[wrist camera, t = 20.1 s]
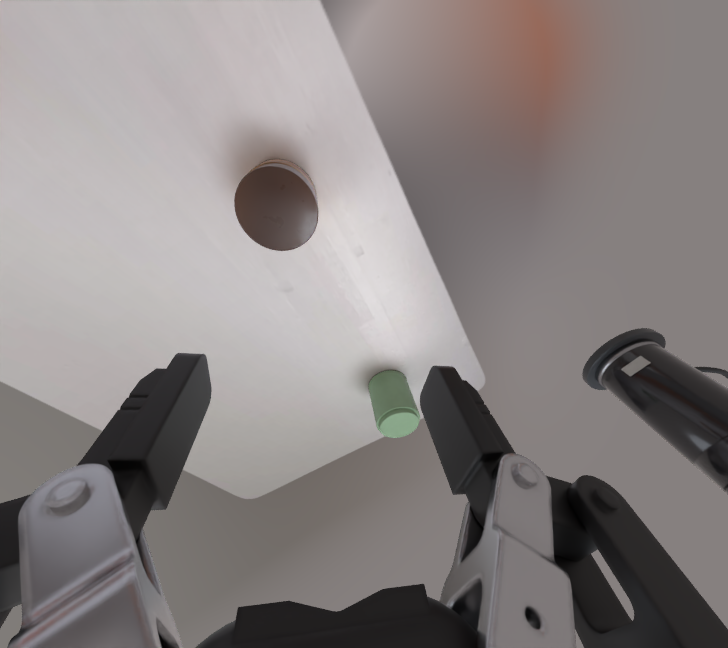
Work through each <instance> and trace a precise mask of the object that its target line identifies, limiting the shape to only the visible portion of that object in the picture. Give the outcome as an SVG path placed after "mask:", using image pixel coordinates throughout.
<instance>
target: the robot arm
mask: <svg viewBox="0 0 728 648" xmlns="http://www.w3.org/2000/svg"><path fill="white" fill-rule="evenodd" d="M703 372H712V373H719V374H722V375H723V376H725V377H726V378H728V372H727V371H725V370H722V369H717V368H711V367H693V366H691V365H690V364H688V363H686V362H685V361H683V360H682V359H680V358H679V357H677V356H675V355H674V354H672V353H670V352H669V351H667V350H666V349H664V348H663V347H662V346H661V345H659V344H657V343H656V342H654V341H652V340H648V339H643V340H637V341H634V342H631V343H628V344H626V345H624V346H622V347H620V348H619V349H617V350H616V351H614V352H613V353H611V354H610V355H609V356H608V357H607V358H606V359H605V360H604V361H603V362H602V363H601V364H600V366H599V367H598V369H597V371H596V380H597V382H598V383H600V384H601V385H602V386H603V387H604V388H606V389H607V390H609V391H610V392H611V393H612V394H613V395H614V396H615V397H617V398H618V399H619V400H620V401H621V402H622V403H623V404H625V405H626V406H627V407H628V408H629V409H630V410H631V411H633V412H634V413H635V414H636V415H637V416H638V417H639V418H640V419H642V420H643V421H644V422H645V423H646V424H648V426H650V427H651V428H652V429H653V430H654V431H655V432H657V433H658V434H659V435H660V436H661V437H662V438H663V439H664V440H666V441H667V442H668V443H669V444H670V445H671V446H673V447H674V448H675V449H676V450H677V451H678V452H679V453H681V454H682V455H683V456H684V457H685V458H686V459H688V460H689V461H690V462H691V463H692V464H693V465H694V466H696V467H697V468H698V469H699V470H700V471H701V472H703V473H704V474H705V475H706V476H707V477H708V478H709V479H710V480H712V481H713V482H714V483H715V484H716V485H717V486H718V487H720V488H721V489H722V490H723V491H724V492H726V494H728V388H727V387H725V386H724V385H722V384H720V383H718V382H717V381H716V380H714V379H712V378H711V377H709V376H707V375H706V374H704V373H703ZM210 399H211V382H210V376H209V370H208V364H207V358H206V356H205V355H204V354H189V353H178V354H176V355H175V357H174V358H173V359H172V361H171V363H170V364H169V366H168V367H167V369H155V370H154V371H152V372H151V373H150V374H148V375H147V376H145V377H144V378H143V379H141V380H140V381H139V382H138V384H137V385H136V387H135V388H134V389H133V391H132V392H131V393H130V396H129V398H127V399H126V400H125V402H124V403H123V404H122V406H121V408H120V410H118V411H117V412H116V414H115V415H114V416H113V418H112V419H111V421H110V422H109V423H108V425H107V426H106V427H105V429H104V430H103V431H102V433H101V434H100V436H99V437H98V438H97V440H96V441H95V442H94V444H93V445H92V446H91V448H90V449H89V451H88V452H87V453H86V455H85V456H84V457H83V459H82V460H81V461H80V462H79V464H78V465H77V466H75V467H72V468H70V469H67V470H65V471H63V472H61V473H59V474H57V475H55V476H53V477H52V478H50V479H49V480H47V481H46V482H44V483H43V484H42V485H40V486H39V487H38V488H37V489H36V490H35V491H34V492H33V493H32V494H31V495H27V496H24V497H21V498H18V499H14V500H11V501H7V502H4V503H1V504H0V628H1V626H2V624H3V623H4V621H5V619H6V618H7V616H8V614H9V612H10V611H11V609H12V608H13V607H15V606H17V605H20V604H22V625H21V629H20V631H19V633H18V634H17V635H15V636H14V637H13V638H12V639H11V640H10V642H9V644H8V647H7V648H183V646H182V643H181V639H180V636H179V634H178V630H177V627H176V625H175V622H174V619H173V616H172V614H171V612H170V609H169V607H168V605H167V602H166V599H165V597H164V594H163V591H162V587H161V584H160V581H159V578H158V575H157V571H156V568H155V565H154V562H153V559H152V556H151V552H150V549H149V546H148V543H147V540H146V537H145V533H144V530H143V526H144V524H145V521H146V519H147V517H148V514H149V513H150V510H163V509H166V508H167V506H168V504H169V501H170V499H171V496H172V493H173V491H174V489H175V486H176V484H177V481H178V479H179V477H180V474H181V472H182V469H183V467H184V465H185V462H186V460H187V457H188V455H189V452H190V450H191V448H192V445H193V443H194V440H195V438H196V435H197V433H198V431H199V428H200V426H201V423H202V421H203V418H204V416H205V413H206V411H207V409H208V406H209V403H210ZM420 406H421V410H422V413H423V415H424V418H425V421H426V423H427V426H428V429H429V431H430V434H431V437H432V439H433V442H434V445H435V447H436V450H437V453H438V456H439V458H440V460H441V464H442V466H443V469H444V472H445V474H446V477H447V479H448V482H449V485H450V488H451V490H452V493H453V495H455V494H466V496H467V498H468V501H469V502H468V504H467V505H466V508H465V512H464V517H463V521H462V526H461V530H460V535H459V539H458V544H457V548H456V553H455V558H454V562H453V565H452V568H451V571H450V573H449V575H448V577H447V579H446V582H445V584H444V587H443V590H442V593H441V597H440V601H437V600H435V599H432V598H430V597H427V595H426V590H425V586H424V584H419V585H411V586H403V587H395V588H387V589H382V590H380V591H378V592H376V593H374V594H372V595H371V596H369V597H367V598H365V599H363V600H361V601H359V602H358V603H356V604H353V605H352V606H350V607H348V608H346V609H344V610H342V611H338V612H335V611H329V610H325V609H320V608H317V607H312V606H308V605H304V604H299V603H295V602H291V601H284V602H277V603H269V604H261V605H253V606H244V607H239V608H238V611H237V616H236V620H235V621H233V622H231V623H229V624H227V625H225V626H224V627H222V628H221V629H219V630H218V631H216V632H214V633H213V634H211V635H210V636H209V637H208V638H206V639H205V640H204V641H203V642H201V643H200V644H199V645H198V646H197V647H196V648H576V637H575V629H576V631H577V633H578V635H579V637H580V640H581V642H582V644H583V646H584V648H728V629H727V628H726V627H725V625H724V624H723V623H722V622H721V620H720V619H719V618H718V616H717V615H716V614H715V613H714V611H713V610H712V609H711V608H710V606H709V605H708V604H707V602H706V601H705V600H704V599H703V597H702V596H701V595H700V594H699V593H698V591H697V590H696V589H695V588H694V586H693V585H692V584H691V582H690V581H689V580H688V579H687V577H686V576H685V575H684V574H683V572H682V571H681V570H680V569H679V567H678V566H677V565H676V563H675V562H674V561H673V560H672V558H671V557H670V556H669V555H668V553H667V552H666V551H665V550H664V548H663V547H662V546H661V545H660V543H659V542H658V541H657V539H656V538H655V537H654V536H653V534H652V533H651V532H650V531H649V529H648V528H647V527H646V526H645V524H644V523H643V522H642V521H641V519H640V518H639V517H638V516H637V514H636V513H635V512H634V510H633V509H632V508H631V507H630V505H629V504H628V503H627V502H626V500H625V499H624V498H623V497H622V496H621V495H620V494H619V493H618V492H617V491H616V490H615V489H614V488H613V487H611V486H610V485H608V484H607V483H605V482H604V481H602V480H600V479H598V478H596V477H593V476H588V475H584V476H581V477H579V478H578V479H577V480H576V481H575V482H574V483H573V484H571V483H568V482H565V481H562V480H558V479H555V478H552V477H548V476H545V474H544V473H543V471H542V470H541V469H540V468H539V467H538V466H537V465H536V464H535V463H534V462H532V461H531V460H529V459H528V458H526V457H524V456H522V455H519V454H516V453H515V452H514V450H513V449H512V447H511V445H510V444H509V442H508V440H507V439H506V437H505V436H504V434H503V433H502V431H501V429H500V427H499V426H498V424H497V423H496V421H495V419H494V418H493V416H492V415H490V411H489V410H488V408H487V407H486V405H484V402H483V400H482V399H481V397H480V395H479V394H478V392H477V390H475V389H474V388H473V387H472V386H471V385H470V384H469V383H468V382H467V381H464V380H462V379H461V377H460V376H459V374H458V372H457V371H456V369H455V368H454V367H450V366H433V367H432V368H431V370H430V372H429V375H428V377H427V380H426V382H425V384H424V387H423V389H422V392H421V395H420ZM597 549H598V550H599V552H600V553H601V555H602V556H603V558H604V559H605V561H606V563H607V564H608V566H609V567H610V569H611V570H612V572H613V574H614V575H615V577H616V578H617V580H618V581H619V583H620V585H621V586H622V588H623V590H624V591H625V593H626V594H627V596H628V597H629V599H630V601H631V603H632V606H633V609H634V620H633V621H632V620H631V619H630V617H629V616H628V614H627V613H626V611H625V610H624V608H623V607H622V605H621V603H620V601H619V600H618V598H617V596H616V595H615V593H614V591H613V590H612V588H611V587H610V585H609V583H608V582H607V580H606V578H605V577H604V575H603V573H602V572H601V570H600V568H599V567H598V565H597V563H596V562H595V560H594V558H593V557H592V555H591V553H593V552H594V551H596V550H597Z"/></svg>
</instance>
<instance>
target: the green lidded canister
mask: <svg viewBox="0 0 728 648" xmlns="http://www.w3.org/2000/svg"><path fill="white" fill-rule="evenodd" d="M369 392H370V397H371V402H372V406H373V411H374V416H375V420H376V425H377V428H378V430H379V431H380V432H381V433H382V434H383V435H384V436H387V437H390V438H398V437H403V436H406V435H408V434H410V433H411V432H413V431H414V430H415V429H416V428H417V426H418V424H419V419H420V415H419V412H418V409H417V407H416V404H415V401H414V399H413V396H412V393H411V391H410V388H409V385H408V383H407V380H406V377H405V376H404V375H403V374H402V373H401V372H398V371H394V370H388V371H383V372H381V373H379V374H377V375H375V376H374V377H373V378H372V379H371V381H370V382H369Z"/></svg>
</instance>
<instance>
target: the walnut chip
mask: <svg viewBox="0 0 728 648" xmlns="http://www.w3.org/2000/svg"><path fill="white" fill-rule="evenodd" d="M235 212H236V215H237V218H238V221H239V223H240V225H241V227H242V228H243V230H244V231H245V232H246V234H247V235H248V236H249V237H250V238H251V239H252V240H254V241H255V242H256V243H258V244H260V245H261V246H264V247H266V248H269V249H272V250H277V251H286V250H292V249H295V248H297V247H299V246H301V245H303V244H304V243H305V242H307V241H308V240H309V238H310V237H311V236H312V234H313V233H314V231H315V228H316V225H317V221H318V203H317V198H316V194H315V191H314V189H313V187H312V185H311V184H310V182H309V181H308V180H307V178H306V177H305V176H304V175H303V174H302V173H300V172H299V171H298V170H296V169H294V168H293V167H290V166H288V165H285V164H280V163H269V164H264V165H261V166H259V167H257V168H256V169H254V170H252V171H251V172H249V173H248V174H247V175H246V176H245V177H244V178H243V179H242V180H241V182H240V183H239V185H238V187H237V190H236V194H235Z"/></svg>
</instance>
